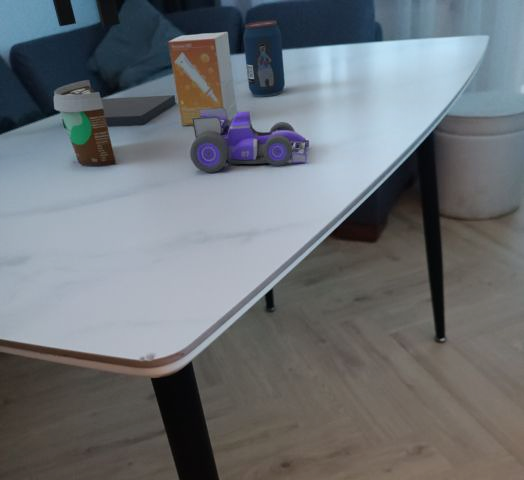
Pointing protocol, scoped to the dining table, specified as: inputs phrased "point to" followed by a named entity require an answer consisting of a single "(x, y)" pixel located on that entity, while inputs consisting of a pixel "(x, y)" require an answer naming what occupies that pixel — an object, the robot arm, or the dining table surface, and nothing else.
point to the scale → (134, 109)
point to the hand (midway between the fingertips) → (88, 25)
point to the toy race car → (242, 142)
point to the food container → (85, 123)
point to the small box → (202, 74)
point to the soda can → (264, 58)
